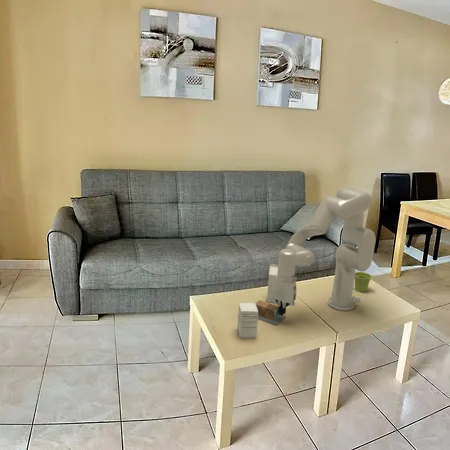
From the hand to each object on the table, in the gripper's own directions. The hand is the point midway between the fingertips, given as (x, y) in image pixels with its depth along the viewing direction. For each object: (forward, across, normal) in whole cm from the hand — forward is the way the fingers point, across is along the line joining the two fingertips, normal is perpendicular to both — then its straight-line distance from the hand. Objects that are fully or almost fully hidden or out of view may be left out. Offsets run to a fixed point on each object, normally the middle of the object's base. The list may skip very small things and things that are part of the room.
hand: (281, 314), depth 176 cm
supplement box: (+4, +8, +18) cm, 20 cm away
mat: (+4, +7, 0) cm, 8 cm away
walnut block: (+1, +2, 0) cm, 2 cm away
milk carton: (+4, +12, -17) cm, 21 cm away
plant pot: (+4, -21, -58) cm, 62 cm away
